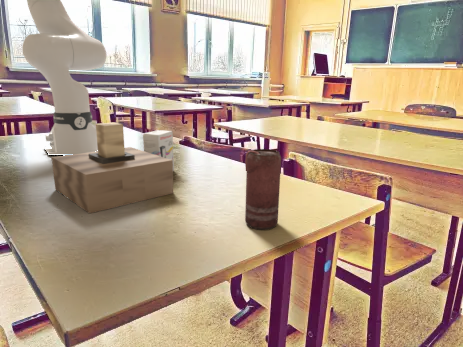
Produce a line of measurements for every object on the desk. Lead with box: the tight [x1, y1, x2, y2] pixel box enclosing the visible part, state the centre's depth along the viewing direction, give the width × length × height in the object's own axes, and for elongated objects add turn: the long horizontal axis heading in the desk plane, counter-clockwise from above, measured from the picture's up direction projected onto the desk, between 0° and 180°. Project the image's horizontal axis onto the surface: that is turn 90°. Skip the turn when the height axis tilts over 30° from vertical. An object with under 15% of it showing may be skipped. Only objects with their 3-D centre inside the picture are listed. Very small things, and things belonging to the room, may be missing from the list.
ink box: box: [142, 129, 175, 172], centre depth 100 cm, size 9×5×12 cm, turn 162°
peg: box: [95, 121, 125, 158], centre depth 82 cm, size 4×4×9 cm
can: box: [244, 148, 282, 231], centre depth 66 cm, size 6×6×14 cm
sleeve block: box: [51, 146, 174, 214], centre depth 84 cm, size 20×20×9 cm
